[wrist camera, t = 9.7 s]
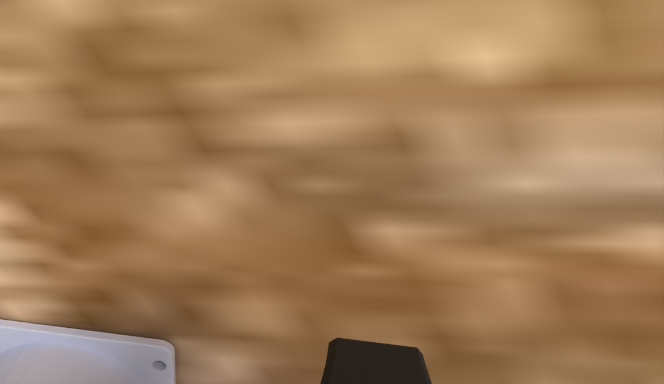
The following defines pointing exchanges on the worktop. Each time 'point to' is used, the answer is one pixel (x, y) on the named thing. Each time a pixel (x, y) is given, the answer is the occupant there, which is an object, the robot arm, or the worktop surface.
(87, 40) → the worktop surface
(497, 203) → the worktop surface
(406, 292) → the worktop surface
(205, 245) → the worktop surface
